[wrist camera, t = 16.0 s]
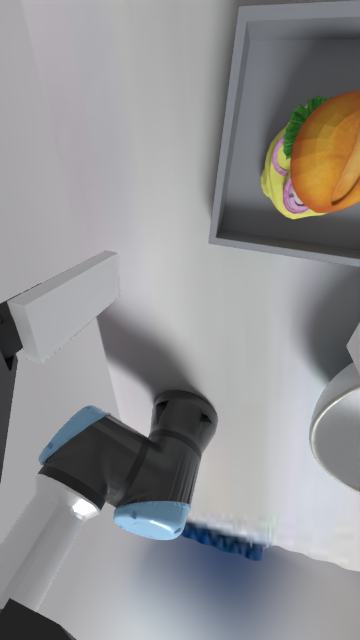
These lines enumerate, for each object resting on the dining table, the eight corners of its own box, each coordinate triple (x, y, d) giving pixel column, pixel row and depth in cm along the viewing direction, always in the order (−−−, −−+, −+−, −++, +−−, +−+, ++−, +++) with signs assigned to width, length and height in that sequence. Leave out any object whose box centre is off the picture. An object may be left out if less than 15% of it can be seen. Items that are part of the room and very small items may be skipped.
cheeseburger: (247, 135, 27) (270, 106, 18) (354, 86, 24) (441, 26, 16) (267, 227, 31) (293, 240, 22) (360, 193, 29) (431, 193, 20)
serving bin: (375, 257, 30) (391, 271, 26) (215, 233, 34) (208, 243, 30) (498, 24, 19) (557, -11, 15) (244, 32, 24) (238, 6, 20)
